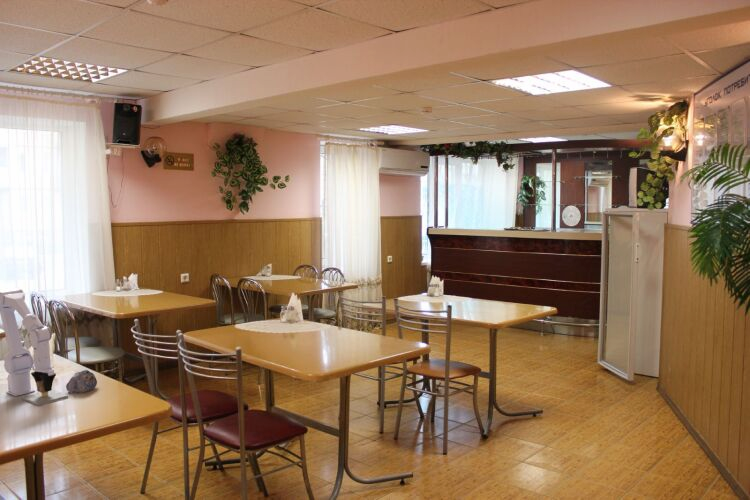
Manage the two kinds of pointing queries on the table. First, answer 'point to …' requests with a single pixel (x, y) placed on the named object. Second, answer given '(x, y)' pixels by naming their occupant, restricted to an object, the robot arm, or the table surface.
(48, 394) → the plate
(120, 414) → the table surface
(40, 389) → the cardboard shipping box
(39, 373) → the robot arm
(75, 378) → the rock
